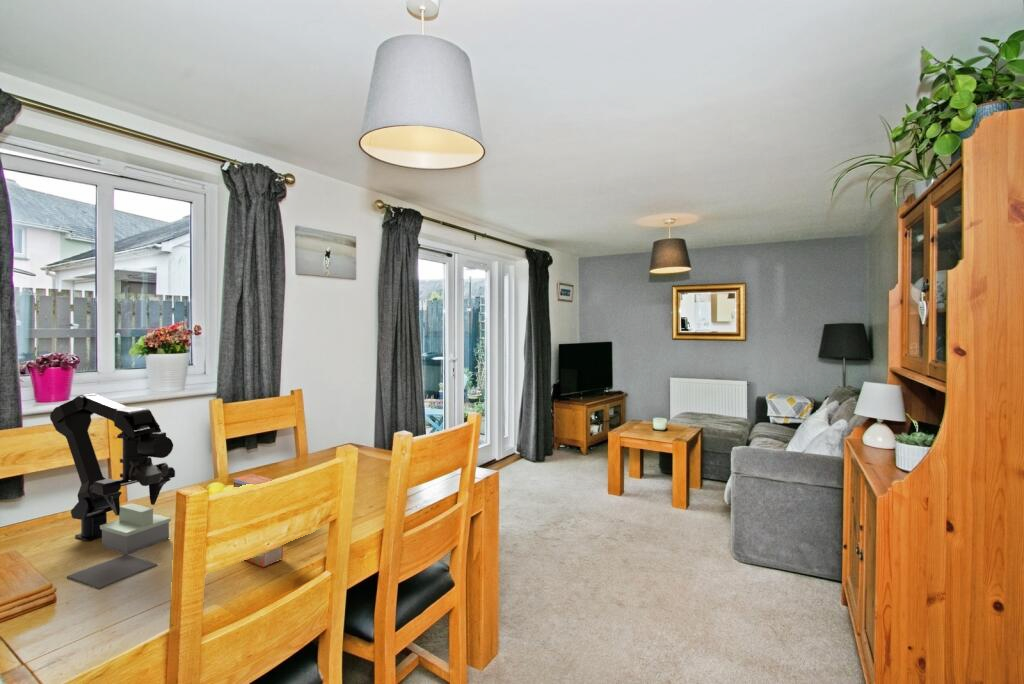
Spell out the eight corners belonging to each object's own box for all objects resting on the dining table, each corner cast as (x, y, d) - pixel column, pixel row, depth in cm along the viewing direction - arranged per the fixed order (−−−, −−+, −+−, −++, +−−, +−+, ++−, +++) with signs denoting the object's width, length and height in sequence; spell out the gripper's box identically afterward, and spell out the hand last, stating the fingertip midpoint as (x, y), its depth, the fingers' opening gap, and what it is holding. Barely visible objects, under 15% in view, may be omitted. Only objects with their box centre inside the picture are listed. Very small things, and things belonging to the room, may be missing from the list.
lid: (100, 532, 138) (99, 511, 138) (145, 518, 149) (144, 498, 149) (126, 540, 134) (126, 517, 134) (170, 524, 144) (170, 504, 144)
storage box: (102, 546, 139) (101, 528, 138) (144, 532, 149) (144, 515, 148) (126, 554, 134) (126, 535, 134) (168, 538, 144) (168, 521, 144)
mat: (66, 577, 122) (66, 576, 122) (125, 555, 134) (125, 554, 134) (98, 589, 116) (98, 587, 116) (157, 565, 128) (157, 563, 128)
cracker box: (284, 559, 133) (284, 481, 132) (262, 569, 128) (262, 487, 127) (254, 546, 140) (254, 472, 140) (232, 554, 135) (232, 477, 134)
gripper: (115, 466, 129) (116, 526, 129) (187, 450, 146) (187, 503, 147) (90, 461, 133) (90, 519, 134) (162, 446, 151) (162, 498, 151)
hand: (135, 509), depth 141 cm, fingers open, 9 cm apart
